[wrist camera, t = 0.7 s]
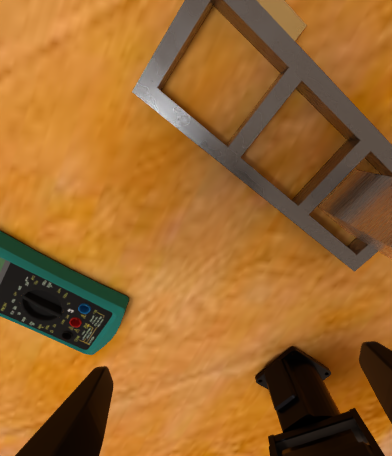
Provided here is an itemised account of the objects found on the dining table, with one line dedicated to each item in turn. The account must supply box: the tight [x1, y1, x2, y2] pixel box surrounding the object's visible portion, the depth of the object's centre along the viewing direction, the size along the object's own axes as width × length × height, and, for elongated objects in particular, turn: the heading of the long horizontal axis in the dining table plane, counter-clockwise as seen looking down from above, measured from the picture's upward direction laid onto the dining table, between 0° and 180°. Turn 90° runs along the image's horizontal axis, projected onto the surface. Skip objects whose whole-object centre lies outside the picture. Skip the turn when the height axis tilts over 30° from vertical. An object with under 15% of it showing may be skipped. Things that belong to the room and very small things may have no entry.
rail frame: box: [132, 0, 392, 271], centre depth 18 cm, size 23×10×2 cm, turn 53°
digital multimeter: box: [0, 231, 129, 355], centre depth 22 cm, size 7×15×3 cm, turn 55°
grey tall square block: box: [319, 170, 392, 259], centre depth 16 cm, size 4×4×8 cm
